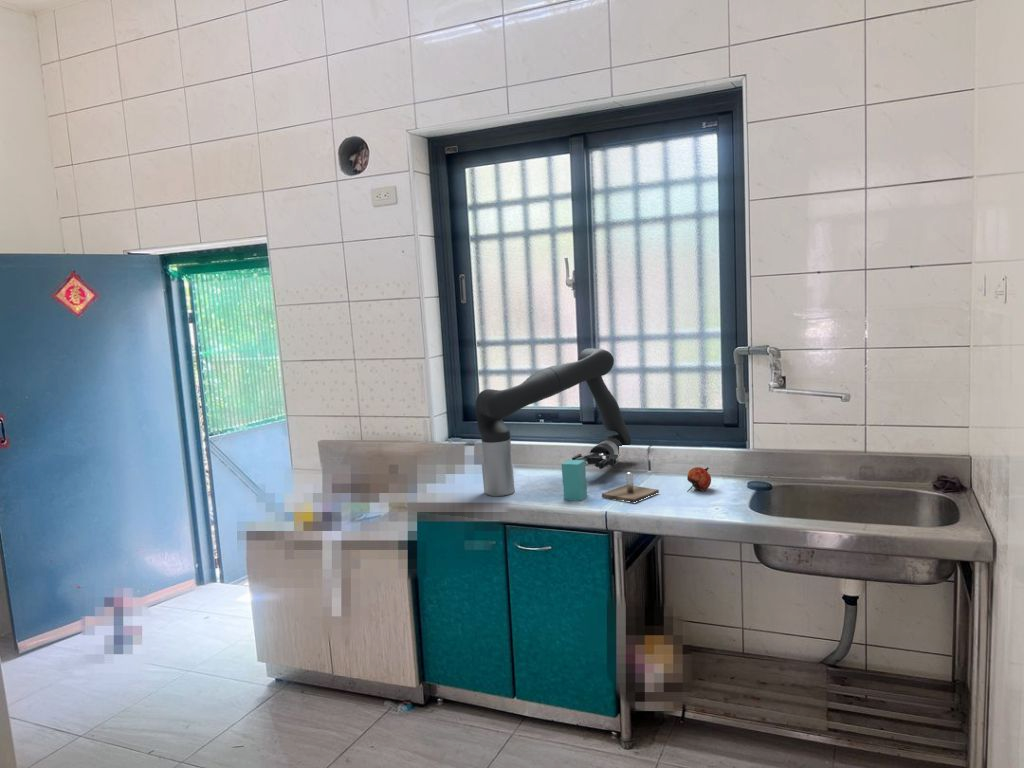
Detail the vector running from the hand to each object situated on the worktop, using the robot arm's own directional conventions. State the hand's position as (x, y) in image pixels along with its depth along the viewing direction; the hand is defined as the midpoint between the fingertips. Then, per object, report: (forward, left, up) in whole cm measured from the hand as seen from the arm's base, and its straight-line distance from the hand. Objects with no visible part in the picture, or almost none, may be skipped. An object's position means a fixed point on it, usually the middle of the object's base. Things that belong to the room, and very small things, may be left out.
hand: (587, 465), depth 229 cm
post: (+17, -1, -6) cm, 18 cm away
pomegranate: (+31, +14, -7) cm, 35 cm away
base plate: (+17, -1, -7) cm, 18 cm away
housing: (+4, -11, -7) cm, 13 cm away
